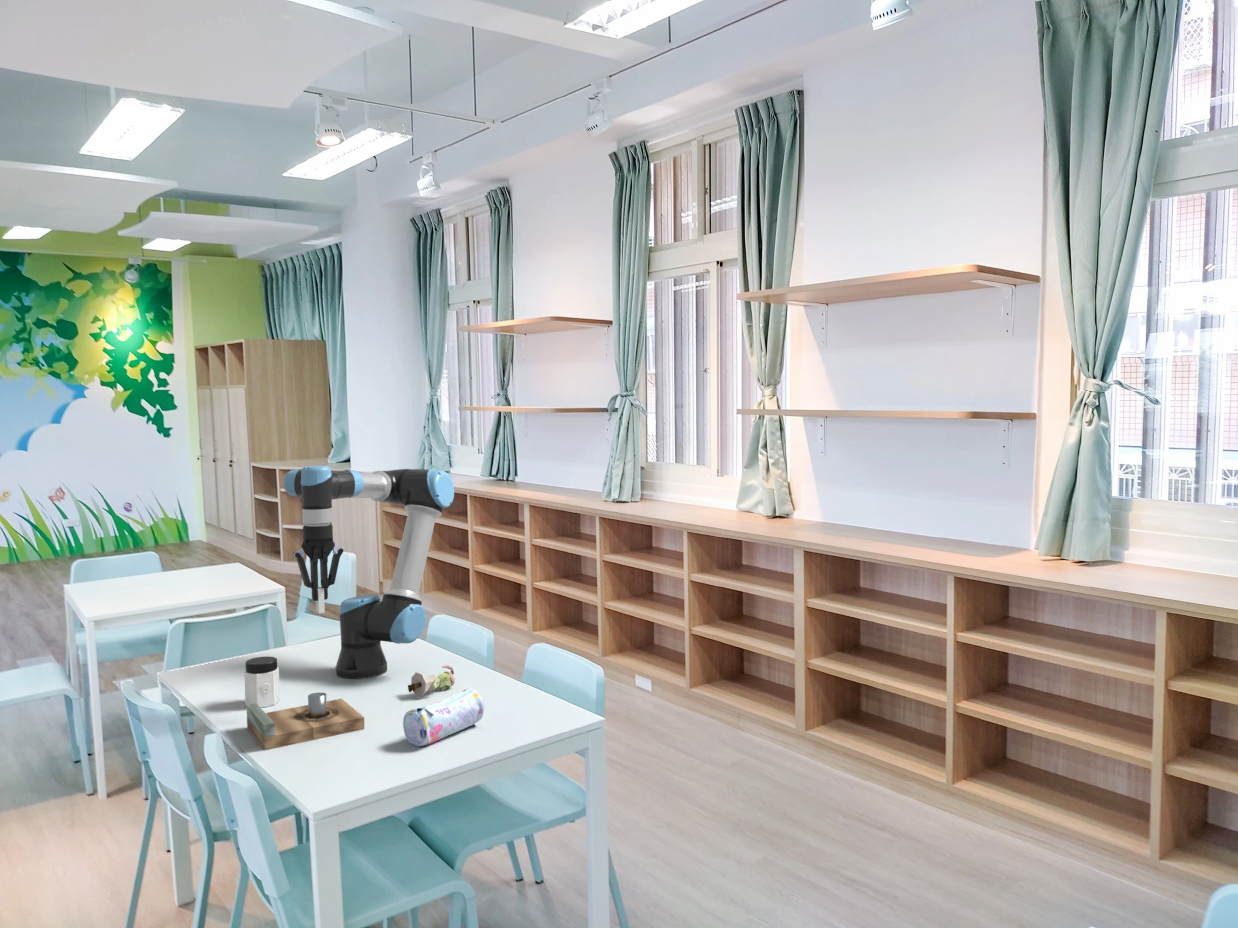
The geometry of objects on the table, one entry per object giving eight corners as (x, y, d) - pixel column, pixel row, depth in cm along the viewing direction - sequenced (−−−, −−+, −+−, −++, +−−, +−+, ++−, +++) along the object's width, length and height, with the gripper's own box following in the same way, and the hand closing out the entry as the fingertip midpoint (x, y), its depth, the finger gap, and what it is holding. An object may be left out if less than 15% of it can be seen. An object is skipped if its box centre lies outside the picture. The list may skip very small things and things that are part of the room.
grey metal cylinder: (323, 721, 235) (322, 691, 234) (329, 726, 231) (328, 695, 231) (306, 725, 232) (305, 694, 232) (311, 730, 228) (311, 698, 228)
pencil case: (423, 751, 214) (422, 712, 214) (399, 743, 219) (398, 704, 219) (487, 725, 231) (486, 689, 230) (463, 719, 236) (462, 683, 235)
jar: (248, 710, 244) (247, 666, 243) (242, 702, 251) (240, 659, 250) (283, 704, 249) (282, 661, 248) (276, 696, 256) (274, 654, 255)
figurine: (422, 697, 249) (466, 686, 260) (417, 670, 250) (460, 661, 262) (405, 702, 254) (448, 691, 266) (399, 675, 256) (443, 666, 267)
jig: (341, 709, 244) (341, 687, 244) (364, 728, 229) (363, 705, 229) (247, 728, 231) (246, 704, 230) (265, 749, 216) (264, 725, 215)
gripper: (337, 520, 248) (340, 606, 249) (288, 524, 240) (291, 612, 242) (346, 523, 242) (349, 611, 243) (296, 527, 234) (299, 618, 236)
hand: (320, 612), depth 243 cm, fingers closed
